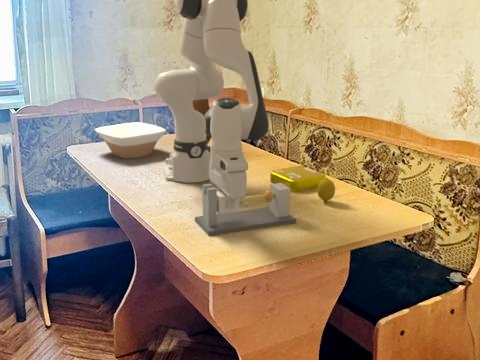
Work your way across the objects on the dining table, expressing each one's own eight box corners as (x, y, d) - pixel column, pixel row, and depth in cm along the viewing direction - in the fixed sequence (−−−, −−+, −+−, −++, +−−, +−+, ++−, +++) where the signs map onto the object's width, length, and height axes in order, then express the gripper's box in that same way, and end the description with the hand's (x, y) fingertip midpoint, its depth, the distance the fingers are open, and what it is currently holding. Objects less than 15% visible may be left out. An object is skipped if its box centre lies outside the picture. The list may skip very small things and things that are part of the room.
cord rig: (194, 220, 172) (194, 181, 168) (277, 209, 182) (279, 172, 178) (208, 235, 161) (208, 194, 157) (295, 222, 171) (297, 183, 167)
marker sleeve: (213, 208, 169) (213, 191, 167) (232, 205, 171) (232, 189, 170) (219, 214, 164) (219, 197, 163) (239, 211, 167) (239, 194, 165)
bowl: (90, 153, 245) (89, 128, 242) (140, 144, 261) (139, 121, 258) (120, 165, 228) (119, 138, 225) (172, 154, 244) (171, 129, 241)
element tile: (327, 187, 205) (328, 173, 204) (293, 194, 198) (293, 180, 196) (301, 176, 217) (301, 163, 216) (268, 182, 210) (268, 169, 208)
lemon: (313, 200, 190) (315, 176, 188) (328, 198, 192) (330, 175, 190) (322, 205, 185) (323, 181, 183) (337, 203, 187) (338, 179, 185)
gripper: (203, 149, 171) (203, 194, 175) (228, 168, 153) (228, 217, 157) (223, 148, 174) (223, 192, 178) (251, 165, 155) (250, 214, 160)
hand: (226, 204), depth 167 cm, fingers closed on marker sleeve, 5 cm apart
